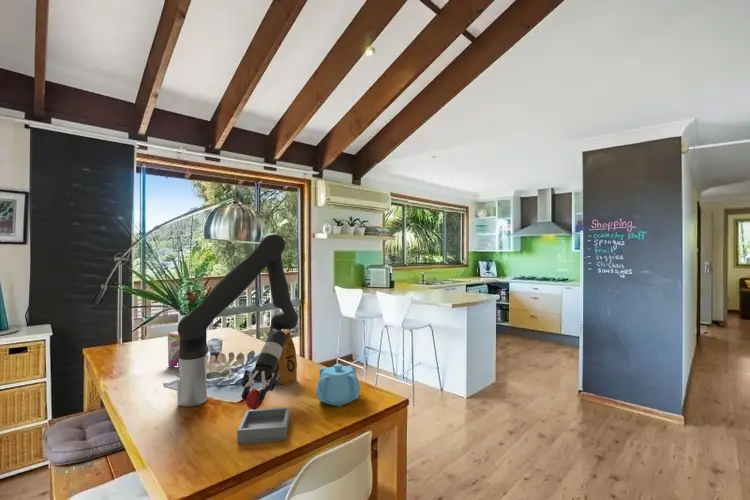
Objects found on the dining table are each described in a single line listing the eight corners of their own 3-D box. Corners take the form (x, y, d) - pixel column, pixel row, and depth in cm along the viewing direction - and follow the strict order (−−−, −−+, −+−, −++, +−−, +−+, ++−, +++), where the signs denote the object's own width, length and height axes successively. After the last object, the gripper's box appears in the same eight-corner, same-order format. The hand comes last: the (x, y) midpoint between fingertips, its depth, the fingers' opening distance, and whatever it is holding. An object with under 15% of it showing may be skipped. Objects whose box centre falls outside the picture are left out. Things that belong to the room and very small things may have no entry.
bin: (237, 443, 113) (237, 430, 113) (246, 422, 127) (246, 410, 127) (285, 440, 115) (285, 426, 115) (289, 419, 129) (289, 407, 129)
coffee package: (282, 388, 157) (282, 334, 156) (263, 381, 164) (263, 330, 164) (301, 380, 165) (300, 330, 164) (282, 375, 172) (281, 326, 172)
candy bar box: (167, 367, 185) (167, 333, 184) (176, 364, 189) (175, 331, 189) (185, 369, 181) (185, 335, 181) (193, 366, 186) (193, 332, 185)
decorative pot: (359, 409, 136) (359, 371, 136) (313, 410, 136) (313, 372, 135) (360, 392, 152) (360, 358, 152) (319, 392, 152) (319, 358, 152)
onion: (248, 406, 139) (247, 385, 138) (264, 406, 139) (264, 384, 139) (244, 414, 133) (243, 391, 133) (260, 413, 133) (260, 390, 133)
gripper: (248, 350, 145) (228, 393, 134) (282, 353, 141) (264, 398, 129) (257, 360, 150) (238, 402, 139) (290, 363, 146) (273, 407, 135)
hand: (251, 400), depth 134 cm, fingers closed on onion, 5 cm apart
